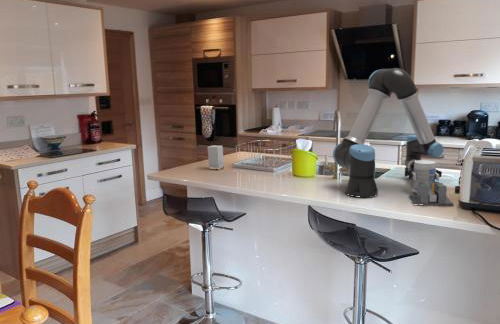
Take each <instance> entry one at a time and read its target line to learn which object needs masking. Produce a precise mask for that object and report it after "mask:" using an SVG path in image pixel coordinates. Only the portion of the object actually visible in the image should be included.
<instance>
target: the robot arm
mask: <svg viewBox="0 0 500 324" xmlns="http://www.w3.org/2000/svg"><path fill="white" fill-rule="evenodd" d="M367 83H368V88H367V93H368V95H367V97H366V98H365V99H366V100H365V101H364V104H363V105H362V108H361V109H360V111H359V113H358V116H356V119H355V122H354V124H353V125H352V128H351V130H350V132H349V134H348V135H347V136H345V137H343V139H342V140H341V142H340V143H338V144H337V145H335V147H334V148H333V150H332V158H333V161H334V162H335V163H336V164H337V165H339V166H340V167H342V168H346V169H348V170H349V173H348V174H349V176H348V177H349V178H348V181H347V183H346V187H345V194H346V193H347V194H349V195H353V196H360V197H370V196H375V195H377V194H378V193H379V189H378V186H377V184H376V180H375V170H376V169H375V168H376V167H375V163H376V161H375V160H376V152H375V151H376V150H375V149H374V147H373V146H371V145H367V144H364V143H365V141H366V139H367V137H368V135H369V133H370V131H371V130H372V127H373V126H374V123H375V121H376V119H377V117H378V115H379V114H380V111H381V110H382V107H383V105H384V103H385V102H386V101H388V100H390V98H391V96H392V94H394V95H395V96H396V98H397V100H399V101H400V102H401V104H402V107H403V110H404V111H405V114H406V117H408V120H409V122H410V126H411V128H412V129H413V132H414V134H409V135H407V136H406V143H405V144H406V153H405V154H406V155H405V159H404V165H405V167H404V177H408V179H412V181H413V180H416V174H415V173H414V162H415V161H417V160H422V156H427V157H430V158H439V157H441V156H442V154H443V153H444V150H445V149H444V145H443V144H442V143H440V142H437V140H436V138H435V135H434V133H433V131H432V128H431V125H430V123H429V122H428V118H427V116H426V114H425V113H426V112H424V109H423V106H422V104H421V102H420V99H419V97H418V96H419V95H418V92H419V91H418V88H417V86H416V84H415V82H414V80H413V79H412V77H411V76H410V75H409V73H408V72H407V71H406V70H404V69H402V68H398V67H393V68H381V69H378V70H375V71H373V72H372V73H371V75H369V77H368V81H367ZM442 174H443V173H442V171H441V170H439V169H436V174H435V181H436V182H440V181H439V180H440V178H442ZM378 195H379V194H378ZM378 195H377V196H378ZM375 197H376V196H375ZM370 198H371V197H370Z"/></svg>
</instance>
